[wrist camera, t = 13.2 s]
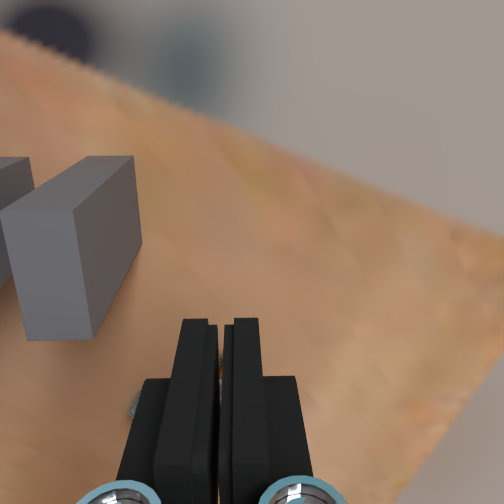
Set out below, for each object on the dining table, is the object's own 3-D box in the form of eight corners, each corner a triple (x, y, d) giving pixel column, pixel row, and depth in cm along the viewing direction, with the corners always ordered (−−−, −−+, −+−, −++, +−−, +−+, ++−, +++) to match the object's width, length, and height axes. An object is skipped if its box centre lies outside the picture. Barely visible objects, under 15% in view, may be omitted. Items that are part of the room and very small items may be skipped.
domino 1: (133, 155, 24) (72, 210, 15) (142, 243, 26) (92, 339, 17) (87, 156, 24) (-1, 211, 15) (99, 243, 26) (27, 341, 17)
